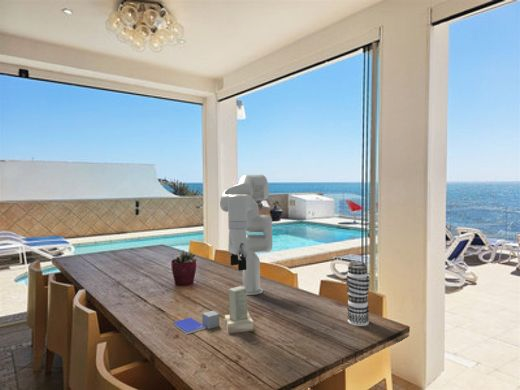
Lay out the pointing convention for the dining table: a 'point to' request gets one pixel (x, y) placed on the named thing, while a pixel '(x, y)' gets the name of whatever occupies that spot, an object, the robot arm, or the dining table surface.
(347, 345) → the dining table surface
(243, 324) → the pedestal
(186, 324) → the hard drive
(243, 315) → the skincare box
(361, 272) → the decorative candle
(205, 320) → the grey cube
